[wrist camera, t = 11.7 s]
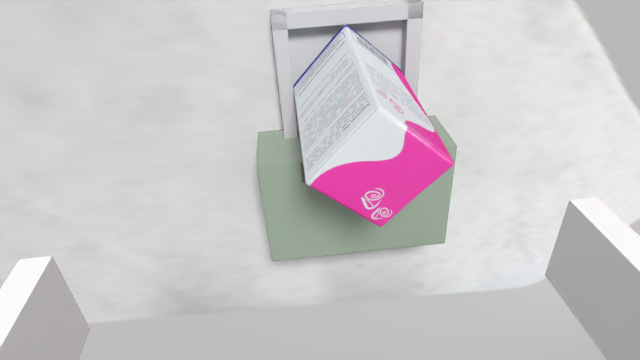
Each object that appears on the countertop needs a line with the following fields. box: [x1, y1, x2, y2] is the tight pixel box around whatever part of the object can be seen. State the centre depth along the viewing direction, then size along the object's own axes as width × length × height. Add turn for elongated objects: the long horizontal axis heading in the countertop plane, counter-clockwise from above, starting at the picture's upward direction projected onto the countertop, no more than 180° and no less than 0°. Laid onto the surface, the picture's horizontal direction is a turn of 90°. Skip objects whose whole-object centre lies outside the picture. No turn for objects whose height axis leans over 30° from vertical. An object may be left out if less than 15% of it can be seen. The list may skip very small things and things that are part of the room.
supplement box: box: [293, 24, 454, 227], centre depth 27 cm, size 6×6×12 cm
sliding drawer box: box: [257, 0, 457, 261], centre depth 33 cm, size 14×18×6 cm
